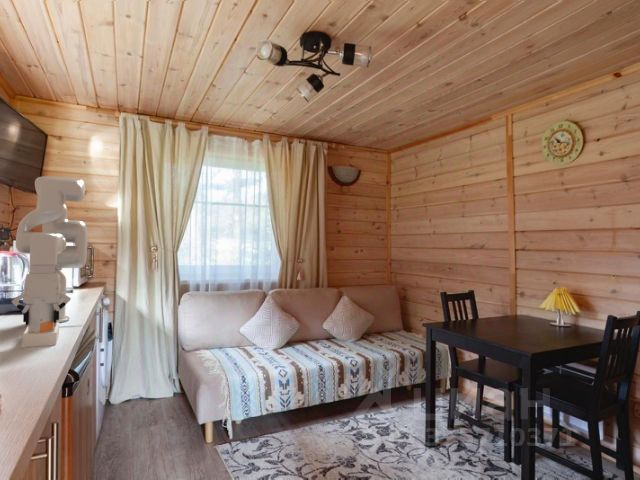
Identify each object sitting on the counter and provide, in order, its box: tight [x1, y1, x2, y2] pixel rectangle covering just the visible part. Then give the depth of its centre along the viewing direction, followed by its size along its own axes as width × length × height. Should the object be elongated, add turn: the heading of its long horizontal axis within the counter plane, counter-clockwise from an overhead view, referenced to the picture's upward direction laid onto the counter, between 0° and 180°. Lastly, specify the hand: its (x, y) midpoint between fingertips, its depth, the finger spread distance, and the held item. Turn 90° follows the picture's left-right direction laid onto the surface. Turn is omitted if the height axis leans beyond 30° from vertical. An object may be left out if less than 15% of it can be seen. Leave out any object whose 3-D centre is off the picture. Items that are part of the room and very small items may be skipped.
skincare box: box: [27, 298, 55, 334], centre depth 131 cm, size 6×4×12 cm
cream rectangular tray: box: [21, 322, 60, 349], centre depth 135 cm, size 18×9×4 cm, turn 31°
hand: (41, 322), depth 131 cm, fingers closed on skincare box, 7 cm apart
